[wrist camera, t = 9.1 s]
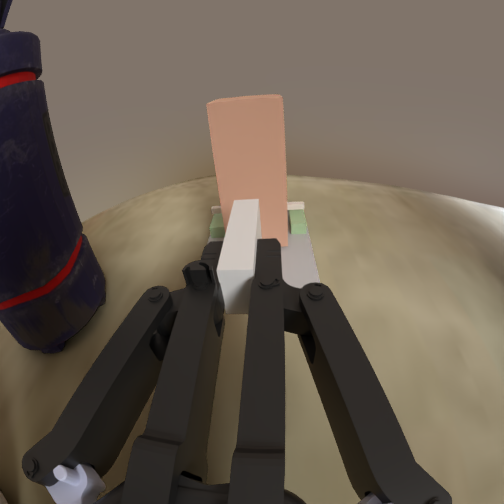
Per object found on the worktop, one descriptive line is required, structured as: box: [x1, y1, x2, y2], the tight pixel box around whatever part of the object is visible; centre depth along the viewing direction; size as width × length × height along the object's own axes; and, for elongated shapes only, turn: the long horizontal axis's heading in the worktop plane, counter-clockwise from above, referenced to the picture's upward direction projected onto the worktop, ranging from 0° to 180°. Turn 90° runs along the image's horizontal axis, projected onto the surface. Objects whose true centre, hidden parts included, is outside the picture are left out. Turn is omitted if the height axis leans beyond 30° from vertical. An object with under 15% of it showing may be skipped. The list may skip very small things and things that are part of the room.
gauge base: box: [207, 209, 320, 288], centre depth 27 cm, size 10×15×2 cm, turn 178°
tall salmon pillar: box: [207, 94, 304, 247], centre depth 23 cm, size 10×5×13 cm, turn 88°
